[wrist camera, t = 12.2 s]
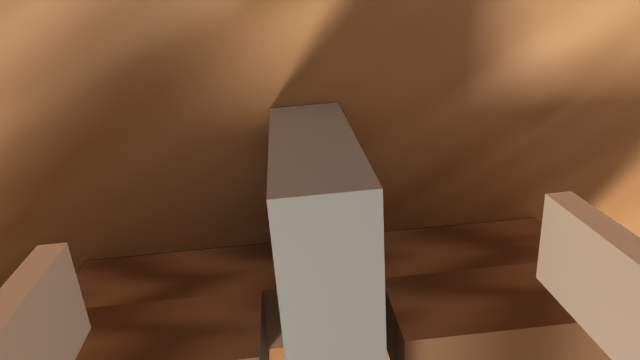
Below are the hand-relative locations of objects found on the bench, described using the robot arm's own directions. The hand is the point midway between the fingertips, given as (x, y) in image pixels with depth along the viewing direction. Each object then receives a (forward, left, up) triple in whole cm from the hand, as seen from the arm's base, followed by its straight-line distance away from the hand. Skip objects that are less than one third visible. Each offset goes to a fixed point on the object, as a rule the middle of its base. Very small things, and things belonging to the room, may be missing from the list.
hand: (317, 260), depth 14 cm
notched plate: (0, -6, -10) cm, 11 cm away
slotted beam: (0, -6, -10) cm, 11 cm away
